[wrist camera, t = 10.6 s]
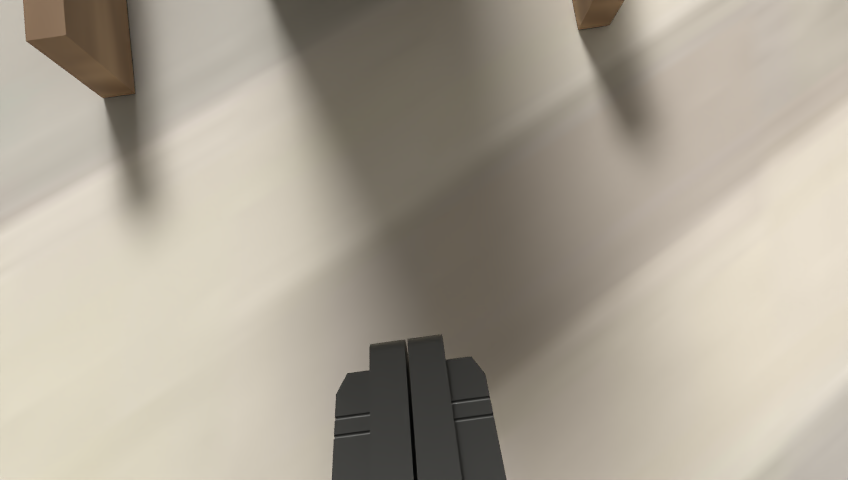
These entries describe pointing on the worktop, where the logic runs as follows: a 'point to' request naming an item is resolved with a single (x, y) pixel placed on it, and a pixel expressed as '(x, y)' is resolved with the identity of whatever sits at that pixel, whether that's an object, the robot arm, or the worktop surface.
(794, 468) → the worktop surface
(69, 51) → the tray
